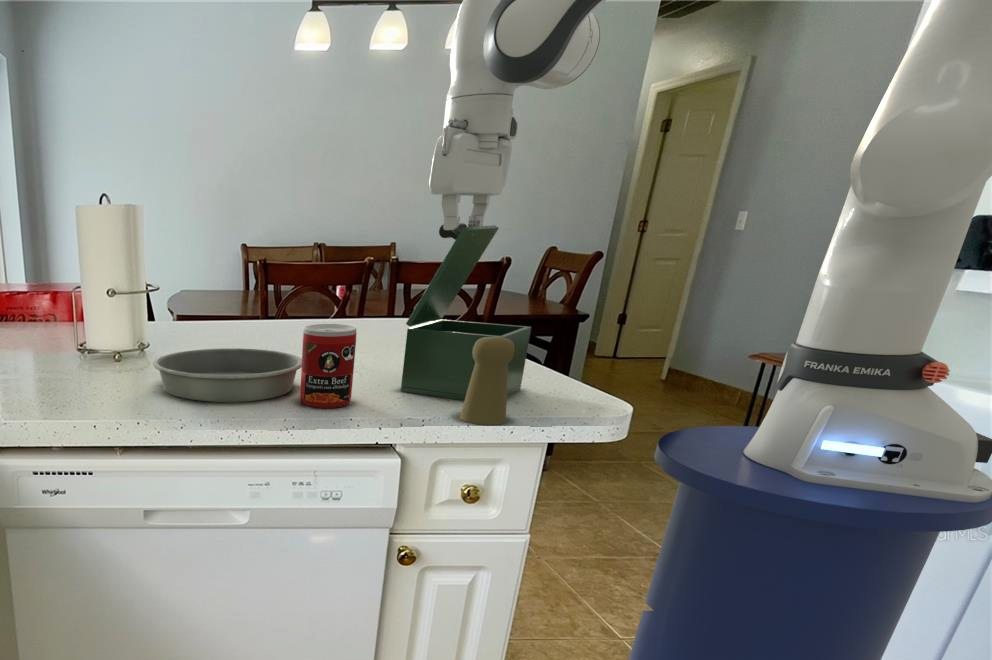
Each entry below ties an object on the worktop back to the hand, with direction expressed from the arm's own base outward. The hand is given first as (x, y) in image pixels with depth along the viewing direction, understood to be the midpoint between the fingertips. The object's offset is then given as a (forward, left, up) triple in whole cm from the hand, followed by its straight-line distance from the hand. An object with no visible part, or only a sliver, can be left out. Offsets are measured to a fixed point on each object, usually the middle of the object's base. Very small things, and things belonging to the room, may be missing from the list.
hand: (463, 229), depth 106 cm
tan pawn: (-12, +15, -24) cm, 31 cm away
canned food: (+10, +20, -24) cm, 33 cm away
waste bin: (-3, 0, -24) cm, 24 cm away
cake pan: (+28, +21, -24) cm, 42 cm away
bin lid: (0, 0, -7) cm, 7 cm away
